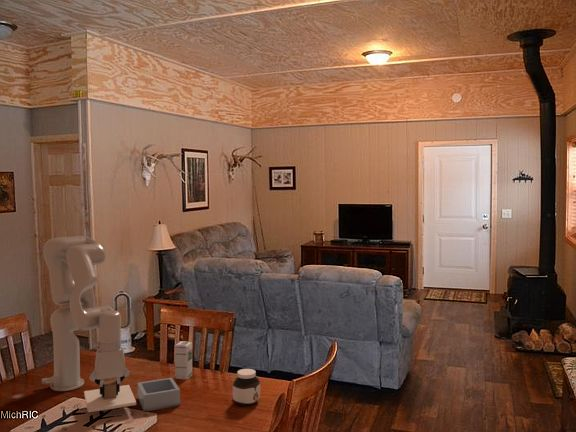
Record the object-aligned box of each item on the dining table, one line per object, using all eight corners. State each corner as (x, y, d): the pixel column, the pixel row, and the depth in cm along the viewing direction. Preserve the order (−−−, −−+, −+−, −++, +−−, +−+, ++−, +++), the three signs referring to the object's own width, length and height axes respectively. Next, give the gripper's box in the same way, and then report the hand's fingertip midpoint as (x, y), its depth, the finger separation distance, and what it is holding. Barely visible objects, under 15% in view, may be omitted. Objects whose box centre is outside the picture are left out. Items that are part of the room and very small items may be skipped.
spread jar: (243, 409, 191) (243, 378, 190) (223, 400, 199) (223, 370, 198) (266, 399, 200) (267, 369, 199) (246, 391, 207) (246, 362, 207)
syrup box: (187, 379, 219) (187, 345, 218) (174, 378, 220) (174, 344, 219) (193, 374, 225) (192, 341, 224) (180, 373, 226) (179, 340, 225)
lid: (88, 412, 179) (88, 395, 179) (84, 393, 194) (84, 378, 193) (136, 404, 186) (136, 388, 186) (128, 387, 201) (129, 372, 200)
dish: (144, 411, 188) (143, 395, 188) (137, 398, 200) (137, 382, 200) (180, 405, 194) (180, 389, 194) (171, 392, 206) (171, 377, 205)
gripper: (85, 351, 181) (85, 403, 183) (135, 346, 189) (135, 395, 190) (83, 345, 188) (84, 394, 190) (132, 339, 195) (131, 387, 197)
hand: (109, 394), depth 190 cm, fingers closed on lid, 4 cm apart
